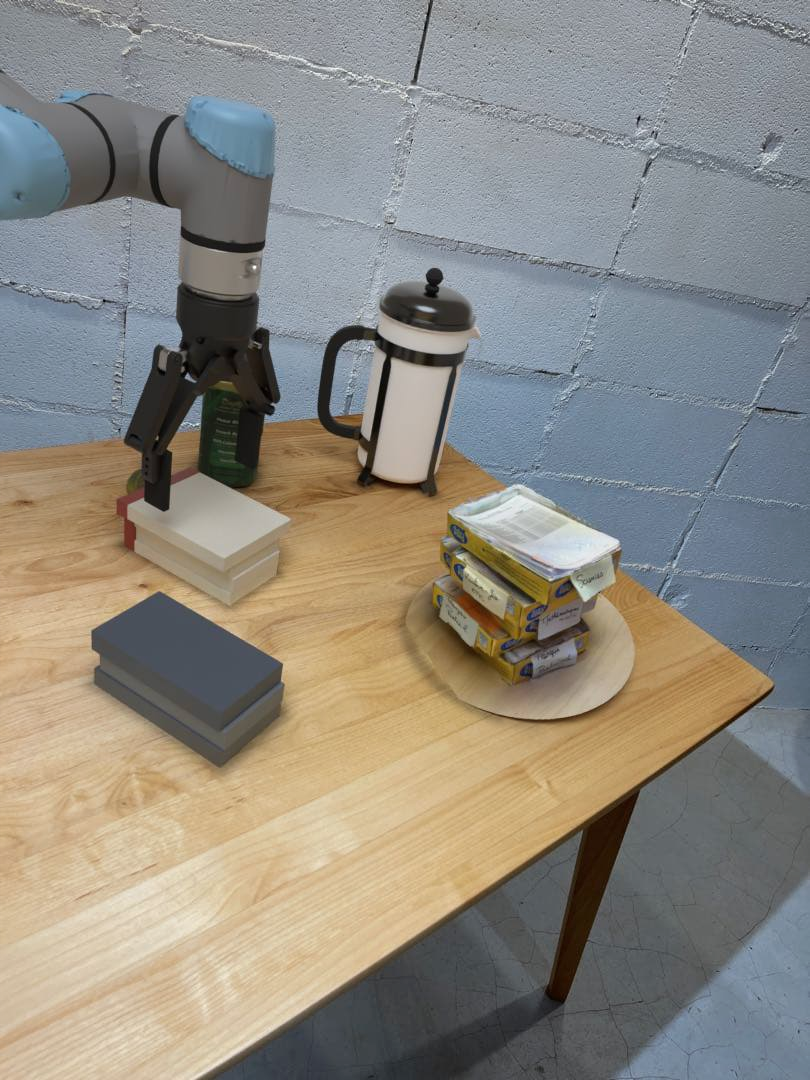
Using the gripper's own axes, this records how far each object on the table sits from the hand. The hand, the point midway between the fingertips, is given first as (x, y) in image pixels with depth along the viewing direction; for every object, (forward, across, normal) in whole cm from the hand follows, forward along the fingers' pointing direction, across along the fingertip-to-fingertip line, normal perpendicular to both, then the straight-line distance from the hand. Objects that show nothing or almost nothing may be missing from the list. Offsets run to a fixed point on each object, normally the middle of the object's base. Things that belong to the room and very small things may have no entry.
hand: (203, 483), depth 87 cm
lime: (+11, +4, +12) cm, 17 cm away
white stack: (+10, 0, 0) cm, 10 cm away
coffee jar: (+11, +18, +12) cm, 24 cm away
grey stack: (+10, -17, -14) cm, 24 cm away
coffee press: (+10, +35, -4) cm, 37 cm away
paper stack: (+10, +13, -34) cm, 38 cm away
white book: (+5, 0, 0) cm, 5 cm away
